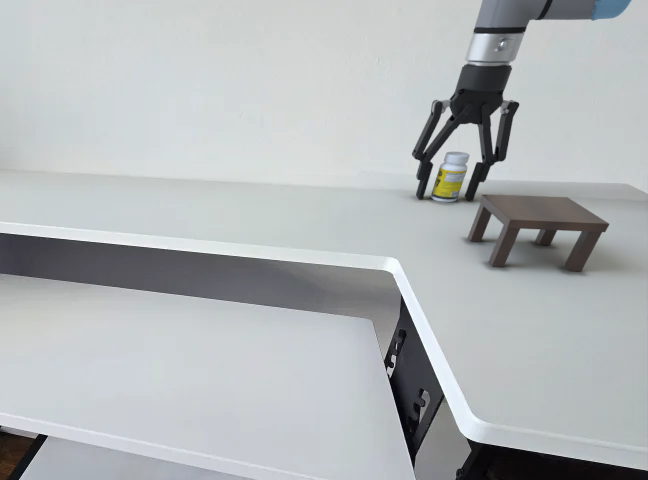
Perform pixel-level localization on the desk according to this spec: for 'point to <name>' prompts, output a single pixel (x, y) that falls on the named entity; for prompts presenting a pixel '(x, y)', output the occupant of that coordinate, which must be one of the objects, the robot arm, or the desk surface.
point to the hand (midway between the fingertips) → (443, 197)
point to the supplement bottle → (450, 177)
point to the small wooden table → (537, 224)
